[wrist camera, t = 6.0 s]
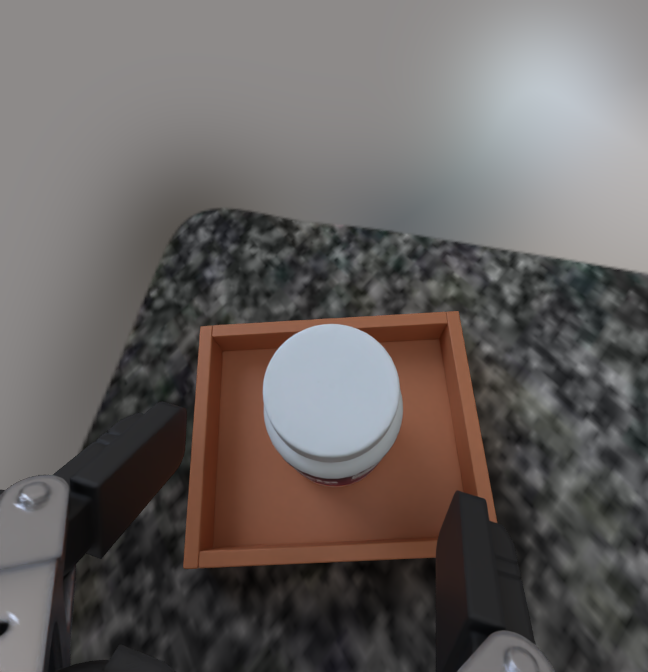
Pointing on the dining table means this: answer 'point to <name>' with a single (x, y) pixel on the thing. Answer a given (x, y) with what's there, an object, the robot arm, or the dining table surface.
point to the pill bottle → (332, 403)
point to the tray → (314, 499)
